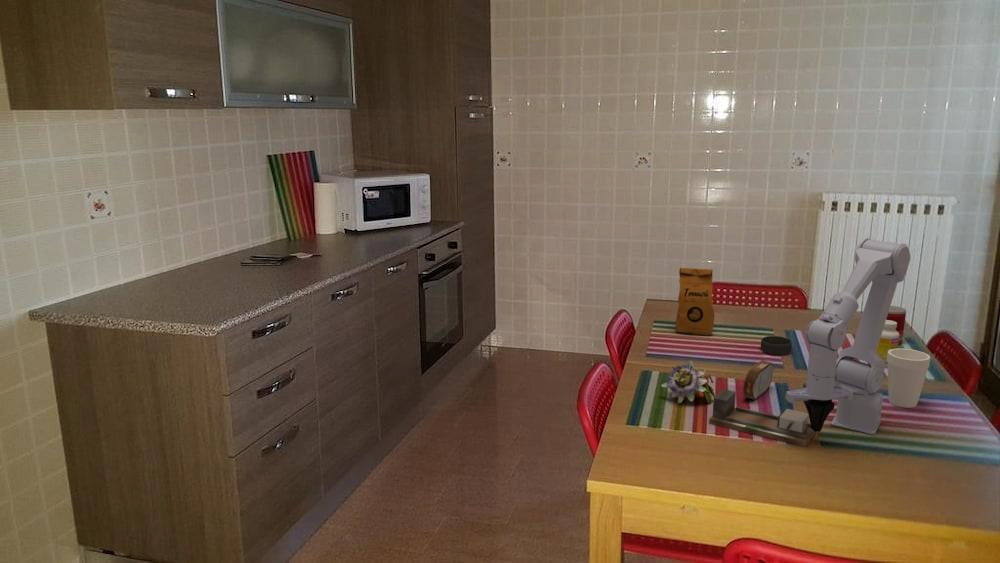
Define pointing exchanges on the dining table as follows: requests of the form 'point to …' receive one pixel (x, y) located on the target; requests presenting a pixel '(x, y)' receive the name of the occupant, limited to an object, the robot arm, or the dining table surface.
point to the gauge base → (753, 421)
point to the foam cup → (906, 376)
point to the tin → (758, 379)
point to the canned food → (897, 319)
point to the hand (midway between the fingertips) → (815, 429)
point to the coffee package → (695, 302)
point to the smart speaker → (776, 345)
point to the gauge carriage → (793, 421)
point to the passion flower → (688, 383)
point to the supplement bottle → (888, 340)
